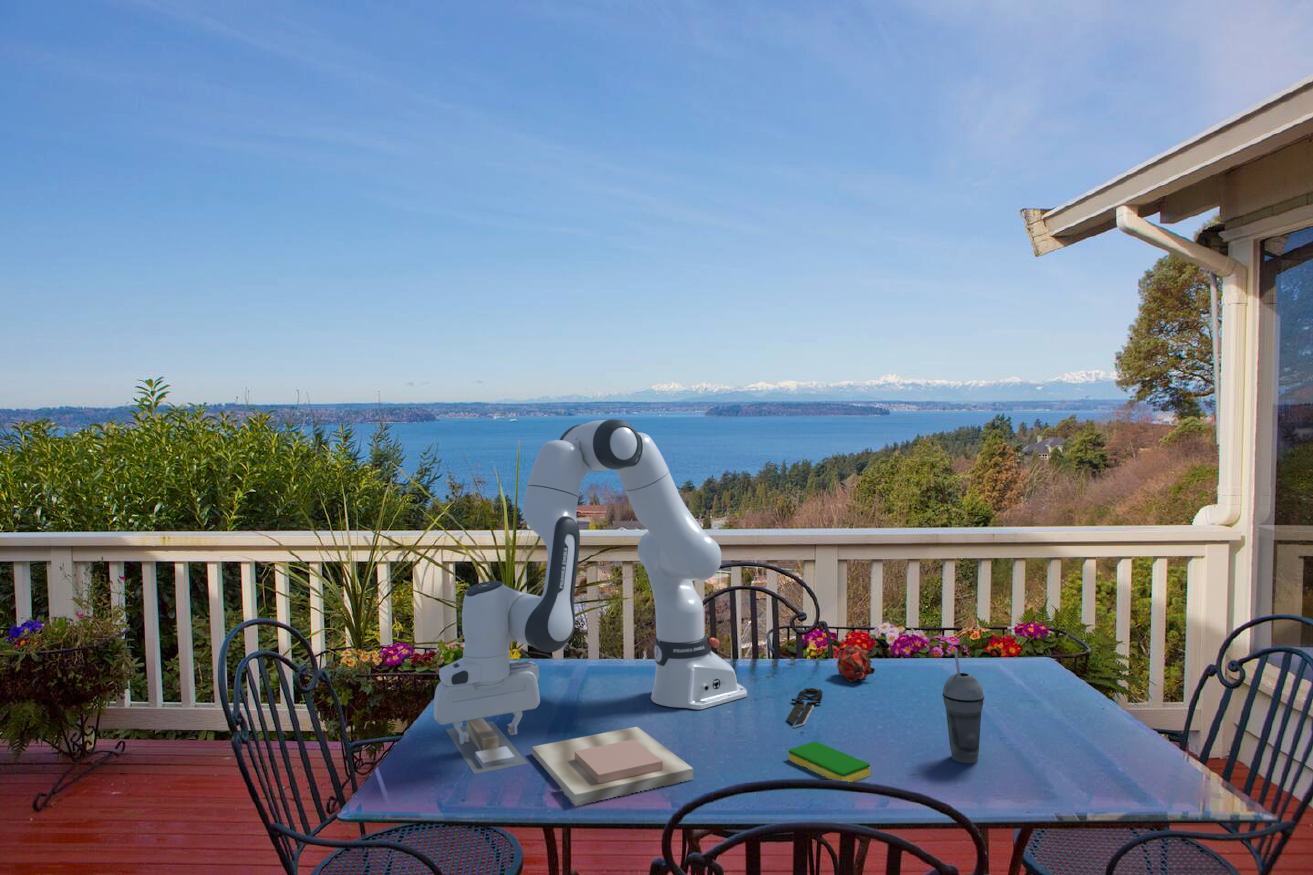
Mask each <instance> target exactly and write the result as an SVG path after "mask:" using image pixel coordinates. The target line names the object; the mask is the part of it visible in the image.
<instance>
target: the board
mask: <svg viewBox="0 0 1313 875" xmlns="http://www.w3.org/2000/svg"><path fill="white" fill-rule="evenodd" d="M633 739H635V740H636V741H637V742H639V743H640V744H641V745H643V746H644V747H645V748H646V749H648V750H649V751H650V752H651V753H653V754H654V755H655V756H657V757H658V758H659V759H660V760H662V762H663V770H659V771H654V772H650V773H645V774H641V775H636V776H632V777H627V778H623V779H618V780H614V781H609V782H604V783H600V784H599V783H598V782H597V781H596V780H595V779H594V778H593V777H592V776H591V775H590V774H589V773H588V772H587V771H586V770H585V769H584V768H583V767H582V766H581V765H580V764H579V763H578V762H577V761H576V760H575V752H574V751H578V750H583V749H588V748H593V747H598V746H603V745H608V744H613V743H618V742H623V741H628V740H633ZM531 755H532V756H533V757H534V758H535V760H536V761H537V762H538V763H539V764H540V765H541V767H543V768H544V769H545V770H546V772H547V773H548V774H549V776H550V777H551V778H552V779H553V780H554V781H555V782H556V784H558V786H559V788H560V789H561V790H562V791H563V792H564V793H563V792H562V791H561V790H560V789H559V790H560V791H561V792H562V793H563V794H564V796H565V797H566V796H567V797H569V799H570V800H571V801H572V802H573V803H574V804H575V805H581V804H584V803H589V802H593V801H598V800H602V799H605V798H610V797H616V798H618V797H617V796H621V797H623V796H622V795H625V796H628V795H627V794H629V795H632V794H631V793H634V794H636V793H635V792H638V793H641V792H640V791H642V792H645V791H644V790H647V791H650V790H649V789H651V790H653V789H652V788H655V789H658V788H657V787H660V788H662V787H661V786H664V787H667V786H672V785H676V784H681V783H680V782H682V783H686V782H690V781H693V780H694V768H693V767H692V766H690V764H688V763H686V761H684V760H683V759H681V758H680V757H679V756H677V754H675V753H673V752H672V751H671V750H669V749H668V748H666V747H665V746H664V745H662V744H661V743H660V742H659V741H657V740H656V739H654V738H653V737H652V736H651V735H649V734H648V733H646V732H645V731H644V730H642V729H641V728H639V726H634V727H628V728H623V729H616V730H612V731H607V732H602V733H598V734H591V735H587V736H581V737H577V738H576V737H575V738H570V739H565V740H560V741H555V742H548V743H544V744H539V745H534V746H531ZM689 780H690V781H689ZM685 781H686V782H685ZM567 797H566V798H567ZM569 799H568V800H569ZM570 800H569V801H570ZM571 801H570V802H571ZM572 802H571V803H572Z"/></svg>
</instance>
